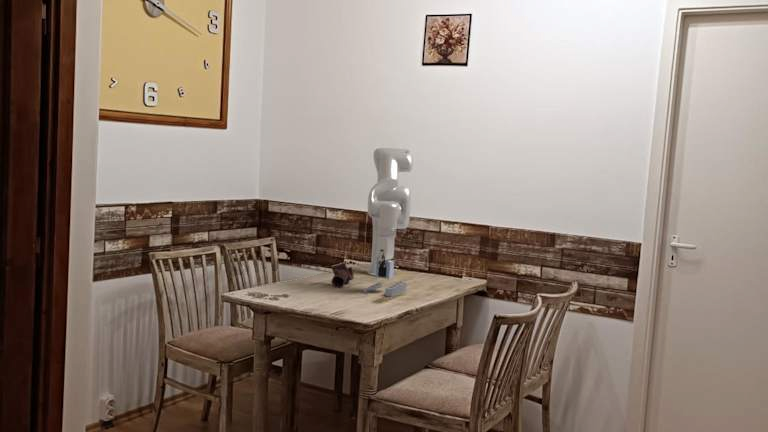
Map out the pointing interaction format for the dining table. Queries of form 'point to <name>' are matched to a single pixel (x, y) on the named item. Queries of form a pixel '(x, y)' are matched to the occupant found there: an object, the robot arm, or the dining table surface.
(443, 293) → the dining table surface
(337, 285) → the brown pipe fitting
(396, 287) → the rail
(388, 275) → the module
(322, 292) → the dining table surface
